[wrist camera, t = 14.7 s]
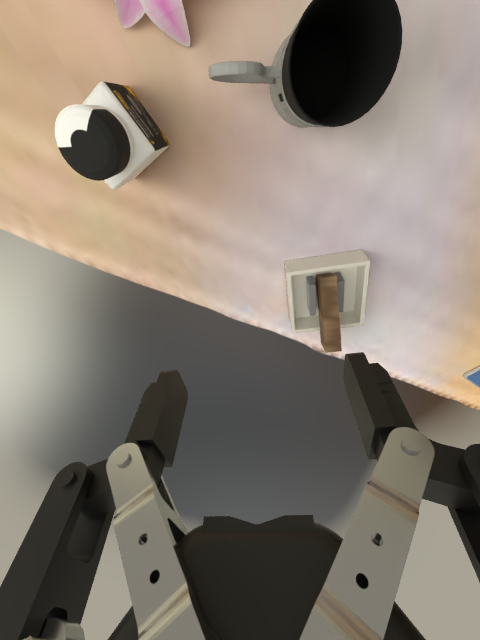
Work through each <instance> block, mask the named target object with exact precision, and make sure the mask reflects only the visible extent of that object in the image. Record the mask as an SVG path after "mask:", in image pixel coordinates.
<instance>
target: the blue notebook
mask: <svg viewBox="0 0 480 640" xmlns="http://www.w3.org/2000/svg"><path fill="white" fill-rule="evenodd" d="M463 377H464V378H465V379H467V380H468V381H469V382H471V383H472V384H474V385H475V386H477V387H478V388H480V366H478V367H477V368H475V369H473V370H471V371H469V372H467V373H465V374H464V375H463Z"/></svg>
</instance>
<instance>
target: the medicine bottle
mask: <svg viewBox="0 0 480 640" xmlns="http://www.w3.org/2000/svg"><path fill="white" fill-rule="evenodd" d="M55 137H56V142H57V145H58V148H59V150H60V152H61V154H62V156H63V157H64V159H65V160H66V162H67V163H68V164H69V165H70V166H71V167H72V168H73V169H74V170H75V171H76V172H78V173H79V174H81V175H82V176H84V177H86V178H89V179H92V180H104V181H105V182H106V183H107V184H108V185H109V186H110V188H112V189H114V190H115V189H117V188H119V187H120V186H122V185H124V184H126V183H128V182H129V181H131V180H133V179H135V178H136V177H137V176H138V175H139V174H140V173H141V172H142V171H143V170H144V169H145V168H146V167H147V166H149V165H150V164H151V163H152V162H153V161H154V160H155V159H156V158H157V157H158V156H159V155H160V154H161V153H162V152H163V151H164V150H165V149H167V148H168V147H169V142H168V141H167V139H166V138H165V136H164V135H163V134H162V132H161V131H160V129H159V128H158V127H157V125H156V124H155V122H154V121H153V120H152V118H151V117H150V115H149V114H148V113H147V111H146V110H145V108H144V107H143V106H142V104H141V103H140V101H139V100H138V99H137V97H136V96H135V94H134V93H133V92H132V90H131V89H130V88H129V87H128V86H124V85H119V84H113V83H108V82H103V81H101V82H100V83H99V84H98V85H97V86H96V88H95V89H94V90H93V91H92V92H91V94H90V95H89V96H88V97H87V99H86V100H85V101H84V102H83V104H82V105H80V104H76V105H70V106H67V107H65V108H64V109H63V110H62V111H61V112H60V113H59V115H58V117H57V119H56V123H55Z"/></svg>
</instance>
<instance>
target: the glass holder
mask: <svg viewBox="0 0 480 640" xmlns="http://www.w3.org/2000/svg"><path fill="white" fill-rule="evenodd" d="M401 45H402V24H401V16H400V13H399V9H398V5H397V3H396V1H395V0H313V1H312V2H311V3H310V5H309V6H308V7H307V9H306V10H305V12H304V14H303V16H302V17H301V19H300V20H299V21H298V23H297V24H296V26H295V27H294V29H293V30H292V32H291V34H290V35H289V36H288V37H287V38H286V39H285V41H284V42H283V43H282V45H281V46H280V48H279V50H278V52H277V54H276V56H275V59H274V62H273V65H272V66H263V64H261V63H258V62H252V61H233V62H222V63H216V64H212V65H210V66H209V78H210V79H212V80H215V81H220V82H230V83H263V84H270V91H271V97H272V101H273V104H274V106H275V108H276V110H277V112H278V113H279V115H280V116H281V117H282V118H283V119H284V120H285V121H286V122H288V123H289V124H291V125H294V126H297V127H311V126H317V127H325V126H329V127H336V126H343V125H346V124H348V123H351V122H353V121H355V120H357V119H359V118H360V117H362V116H363V115H364V114H365V113H367V112H368V111H369V110H370V109H371V108H372V107H373V106H374V105H375V104H376V103H377V102H378V100H379V99H380V98H381V96H382V95H383V94H384V92H385V90H386V89H387V87H388V85H389V84H390V82H391V79H392V77H393V75H394V72H395V70H396V67H397V63H398V60H399V56H400V50H401Z"/></svg>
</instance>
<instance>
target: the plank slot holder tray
mask: <svg viewBox="0 0 480 640" xmlns="http://www.w3.org/2000/svg"><path fill="white" fill-rule="evenodd" d="M284 266H285V276H286V286H287V297H288V307H289V317H290V324H291V330H292V333H297V332H306V331H315V330H320V323H319V311H318V298H317V286H316V274H323V273H330V272H331V273H333V274H335V275H337V286H338V302H339V318H340V328H342V327H351V326H360V325H363V322H364V313H365V304H366V295H367V286H368V277H369V268H370V260H369V258H368V257H367V256H366V255H365V253H364V252H363V251H362V250H355V251H348V252H342V253H335V254H329V255H322V256H315V257H309V258H302V259H295V260H289V261H284Z"/></svg>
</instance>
